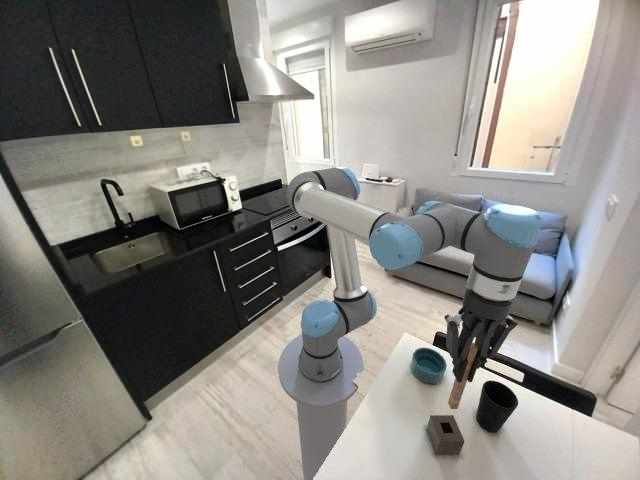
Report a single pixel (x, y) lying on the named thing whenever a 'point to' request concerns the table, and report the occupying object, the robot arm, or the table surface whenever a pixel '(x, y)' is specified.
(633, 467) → the table surface
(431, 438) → the holder
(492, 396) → the cup
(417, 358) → the bowl
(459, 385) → the stick
